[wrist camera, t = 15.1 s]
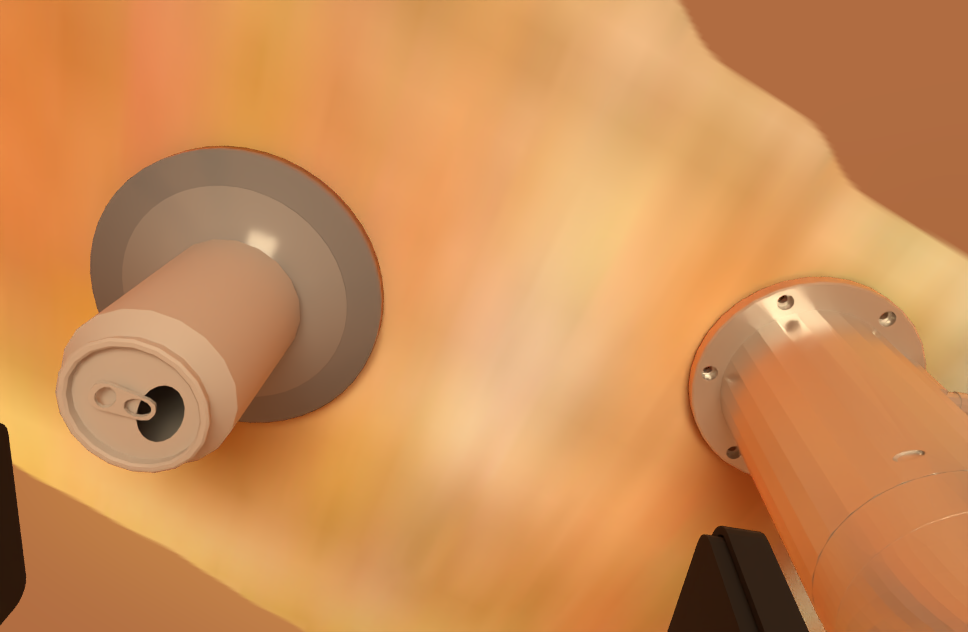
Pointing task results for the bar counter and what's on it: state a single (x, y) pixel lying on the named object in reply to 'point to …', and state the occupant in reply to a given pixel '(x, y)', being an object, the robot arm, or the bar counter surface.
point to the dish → (275, 231)
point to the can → (178, 357)
